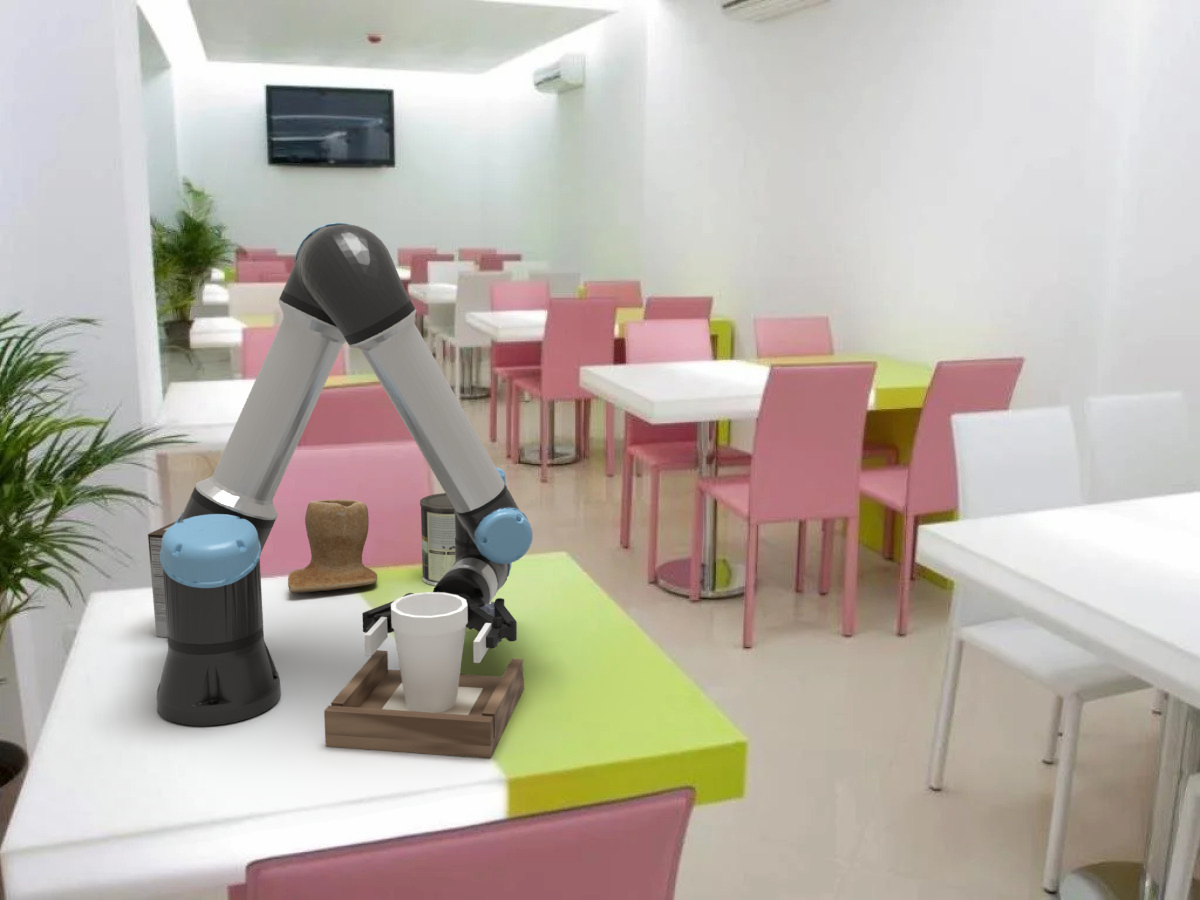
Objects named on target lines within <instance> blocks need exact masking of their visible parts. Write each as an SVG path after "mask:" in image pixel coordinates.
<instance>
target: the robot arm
mask: <svg viewBox="0 0 1200 900" xmlns="http://www.w3.org/2000/svg"><path fill="white" fill-rule="evenodd" d="M404 286H405V285H404V284H403V282H402V280H401V277H400V275H399V273H398V270H397V267H396V265H395V263H394V260H393V258H392V256H391V254H390V252H389V250H388V248H387V246H386V245H385V244H384V242H383V241H382V240H381V238H379V237H378V236H377V235H376V234H375V233H373V232H371V231H370V230H368V229H367V228H364V227H362V226H360V225H359V226H358V225H355V224H350V223H346V222H344V223H343V222H335V223H334V222H333V223H327V224H324V225H322V226H320V227H317V228H315V229H314V230H313V231H311V232H310V233H309V234H307V235H306V236H305V237H304V238H303V240H302V242H301V243H300V244H299V246H298V249H296V254H295V260H294V265H293V267H292V269H291V271H290V274H289V276H288V278H287V281H286V282H285V285H284V287H283V289H282V292H281V294H280V296H279V298H278V300H277V301H278V304H279V307H280V309H281V311H282V314H283V315H282V316H283V317H282V321H281V323H280V325H279V327H278V330H277V332H276V334H275V336H274V339H273V340H272V343H271V345H270V347H269V349H268V351H267V354H266V356H265V358H264V360H263V363H262V365H261V367H260V370H259V372H258V374H257V375H256V379H255V380H254V382H253V385H252V386H251V389H250V392H249V393H248V396H247V398H246V400H245V403H244V404H243V407H242V409H241V411H240V414H239V416H238V418H237V420H236V422H235V425H234V427H233V430H232V432H231V433H230V436H229V438H228V440H227V443H226V444H225V447H224V449H223V451H222V453H221V456H220V458H219V461H218V463H217V465H216V467H215V469H214V472H213V473H212V475H211V476H210V477H208V478H207V477H206V478H205V479H202V480H199V481H198V482H196V484H195V486H194V488H193V490H192V492H191V494H190V497H189V499H188V502H187V503H186V506H185V508H184V510H183V512H181V514H180V516H179V517H178V518H177V519H176V520H175V521H176V522H175V521H174V522H175V524H174V525H172V526H171V527H170V528H169V529H168V530H167V531H166V532H165V533H164V535H163V538H162V543H161V551H160V562H161V565H162V567H163V580H164V594H165V609H166V623H167V637H166V639H167V653H166V658H165V661H164V665H163V668H162V669H163V670H162V672H161V673H162V674H161V678H160V682H159V684H158V686H157V690H156V706H157V711H158V714H159V715H160V716H161V717H162V718H164V719H165V720H167V721H169V722H172V723H176V724H180V725H186V726H196V727H197V726H199V727H201V726H202V727H203V726H206V727H207V726H219V725H226V724H227V725H228V724H233V723H236V722H240V721H244V720H247V719H248V720H249V719H250V718H253V717H256V716H259V715H260V714H262V713H265V712H267V711H268V710H270V709H271V708H272V707H274V706H275V705H276V704H277V703H278V702H279V700H280V698H281V696H282V695H281V694H282V693H281V678H280V674H279V673H278V672H279V671H277V668H276V666H275V663H274V660H273V658H272V655H271V652H270V650H269V647H268V646H267V644H266V641H265V634H264V615H263V598H262V595H263V593H262V580H261V579H262V576H261V574H262V573H261V560H260V559H261V558H260V557H261V553H262V552H263V549H264V547H265V545H266V543H267V540H268V538H269V536H270V533H271V531H272V529H273V527H274V524H275V523H276V520H277V518H278V516H279V515H278V512H277V510H276V508H275V505H274V501H273V499H274V497H275V495H276V493H277V490H278V489H279V486H280V485H281V482H282V479H283V477H284V476H285V473H286V471H287V470H288V469H287V468H288V467H289V464H290V462H291V460H292V458H293V455H294V454H295V451H296V449H297V447H298V444H299V442H300V441H301V438H302V436H303V433H304V431H305V429H306V426H308V425H307V424H308V422H309V420H310V418H311V416H312V413H313V412H314V410H315V407H316V405H317V403H318V401H319V398H320V396H321V394H322V392H323V389H324V387H325V385H326V383H327V380H328V378H329V376H330V374H331V372H332V370H333V368H334V366H335V363H336V361H337V358H338V357H339V354H340V352H341V349H342V348H343V346H344V344H346V343H347V344H348V346H349V347H350V348H353V349H356V350H359V351H361V352H362V354H363V356H364V358H365V360H366V361H367V362H368V364H369V366H370V368H371V369H372V372H374V374H375V377H377V379H378V382H379V383H380V385H381V386H382V388H383V390H384V392H385V393H386V394H387V396H388V398H389V400H390V401H391V403H392V405H393V406H394V408H395V410H396V412H397V414H398V415H399V417H400V418H401V420H402V422H403V423H404V425H405V427H406V428H407V431H408V432H409V434H410V435H411V437H412V439H413V440H414V442H415V444H416V445H417V448H418V449H419V450H420V452H421V454H422V456H423V458H424V459H425V461H426V462H427V464H428V466H429V467H430V469H431V471H432V473H433V474H434V476H435V478H436V480H437V481H438V482H439V485H440V486H441V487H442V490H443V492H444V493H446V495H447V496H448V498H449V500H450V501H451V503H452V505H453V506H454V509H455V563H454V565H453V566H452V567H451V568H450V569H449V570H448V571H447V573H446V574H445V575H444V576H443V577H442V579H441V580H440V581H439V582H438V583H437V585H436V586H434V588H433V590H432V592H441V593H449V594H454V595H458V596H460V597H462V598H464V599H466V602H467V605H468V623H467V624H466V628H467V629H469V630H472V629H473V630H475V631H477V632H478V634H477V635H476V637H475V638H474V640H473V642H472V644H473V646H472V647H473V652H472V653H473V663H474V664H480V663H481V662H482V660H483V659H484V657H485V655H486V654H487V652H488V650H489V649H495V648H496V647H497V646H498V644H499V643H500V642H501V643H502V640H503V639H506V640H507V641H508V642H516V641H517V638H518V637H517V634H518V632H517V631H518V630H517V629H518V628H517V623H518V622H517V620H516V619H515V618H514V616H513V615H512V613H510V611H509V610H508V608H507V607H506V605H505V599H504V598H501V597H497V598H496V599H495V601H493V600H494V598H495V596H496V594H497V593H498V592H499V590H500V589H501V588H502V587H503V586H504V585H505V583H506V582H507V580H508V577H509V576H510V574H511V573H510V572H511V569H512V564H513V563H514V562H517V561H520V559H521V558H523V557H524V556H525V555H526V554H527V552H528V551H529V549H530V548H531V545H532V543H533V542H532V541H533V536H534V535H533V529H532V526H531V524H530V522H529V519H528V517H527V516H526V514H525V513H524V512H522V511H521V510H520V508H519V506H518V505H517V502H516V501H515V499H514V498H513V496H512V494H511V492H510V490H509V488H508V486H507V485H506V484H507V482H506V473H505V471H504V470H503V469H502V468H499V467H498V466H496V465H495V463H494V462H493V460H492V458H491V456H490V455H489V452H488V451H487V449H486V448H485V446H484V444H483V442H482V440H481V438H480V437H479V434H478V433H477V432H476V430H475V428H474V426H473V425H472V423H471V421H470V419H469V418H468V416H467V414H466V412H465V411H464V409H463V407H462V404H461V403H460V401H459V400H458V398H457V396H456V394H455V392H454V391H453V389H452V388H451V385H450V384H449V382H448V380H447V378H446V377H445V375H444V373H443V372H442V370H441V368H440V366H439V364H438V363H437V361H436V359H435V357H434V355H433V353H432V352H431V350H430V349H429V347H428V345H427V342H426V341H425V339H424V338H423V336H422V334H421V332H420V331H419V329H418V327H417V326H416V323H415V317H416V314H417V309H416V307H415V305H414V304H413V302H412V300H411V298H410V296H409V295H408V292H407V291H406V288H405V287H404ZM410 594H414V592H408V593H406V594H404V595H403V596H402V597H404V596H407V595H410ZM394 601H395V600H392V601H390V602H387V603H384V604H381V605H379V606H377V607H374V608H372V609H369V610H366V611H364V612H362V614H361V615H362V632H363V633H365V634H364V656H365V657H371V656H372V655H373V654H374V653H375V652H376V650H379V648H380V646H381V645H382V644H383V643H384V642H385V641H386V640H387V638H388V635H389V633H394V629H393V628H392V623H391V603H393V602H394Z"/></svg>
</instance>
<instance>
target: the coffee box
mask: <svg viewBox="0 0 1200 900" xmlns="http://www.w3.org/2000/svg"><path fill="white" fill-rule="evenodd" d="M176 521H177V520H175V521H174V522H172V523H169V524H166V525H165V526H163V527H160V528H158V529H157V530H154V531H152V532H149V533H148V534H147V541H148V552H149V563H150V575H151V576H150V577H151V588H152V601H153V602H152V603H153V612H154V623H155V624H154V625H155V635H156V637H158V638H167V623H166V609H165V594H164V580H163V567H162V565H161V562H160V551H161V543H162V538H163V535H164V533H165V532H166V531H167V530H168V529H169V528H170V527H171V526H172V525H174V524H175V522H176Z"/></svg>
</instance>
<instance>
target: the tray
mask: <svg viewBox="0 0 1200 900" xmlns="http://www.w3.org/2000/svg"><path fill="white" fill-rule="evenodd" d="M388 656H389V655H388V650H380V649H377V650H376V651H375V652H374V654H373V655H372V656H369V658H368V660H366V662H365V663H364V664H363V665H362V667H361V668H360V669H359V670H358V671H357V672H356V673H355V675H353V677H352V678H351V679H350V680H349V682H348V683H347V684H346V685H345V686H344V687H343V689H342V690H341V691H340V692H339V693H338V694H337V695H336V697H335V698H334V699H332V701H331V702H330V705H328V706H327V707H326V708H325V709H324V711H323V715H324V716H323V717H324V719H323V720H324V739H325V741H324V742H325V747H332V748H343V749H345V748H346V749H360V750H373V751H389V752H399V753H401V752H402V753H413V754H414V753H415V754H430V755H439V756H455V757H457V756H458V757H468V758H469V757H470V758H480V759H481V758H483V759H491V758H492V756H493V754H494V752H495V750H496V748H497V746H498V743H499V742H500V740H501V737H502V736H503V734H504V731H505V729H506V727H507V726H508V723H509V721H510V719H511V717H512V715H513V713H514V710H515V708H516V707H517V704H518V702H519V700H520V698H521V696H522V693H523V692H524V690H525V677H524V659H523V658H511V659H510V660H509V662H508V665H507V666H506V668H505V671H504V672H503V674H502V676H496V675H478V674H465V673H464V674H463V673H460V677H459V685H458V693H457V699H456V704H455V705H454V706H453V707H452V708H451V709H448V710H446V711H444V712H438V713H431V712H417V711H411V710H410V709H408V708H407V707H406V702H405V696H404V690H403V684H402V678H401V671H400V669H389V661H388V660H389V659H388V658H389V657H388Z"/></svg>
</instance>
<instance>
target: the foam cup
mask: <svg viewBox="0 0 1200 900" xmlns="http://www.w3.org/2000/svg"><path fill="white" fill-rule="evenodd" d="M403 596H404V595H403ZM403 596H402V597H401V596H400V597H398V598H396V599H395V600H393V601H394V602H393V603H391V623H392V628H393V629H394V632H393V634H394V639H395V645H396V652H397V657H398V665H399V670H400V671H401V678H402V684H403V690H404V696H405V702H406V707H407V708H408V709H410V710H411V711H417V712H431V713H438V712H444V711H446V710H448V709H451V708H452V707H453V706H454V705H455V704H456V699H457V693H458V685H459V677H460V674H461V669H462V668H461V667H462V660H463V659H462V658H463V651H464V643H465V635H466V628H467V627H466V624H467V623H468V605H467V602H466V599H464V598H462V597H460V596H458V595H454V594H449V593H441V592H433V591H430V592H429V591H427V592H419V593H413V594H410V595H407V596H404V597H403Z"/></svg>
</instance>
